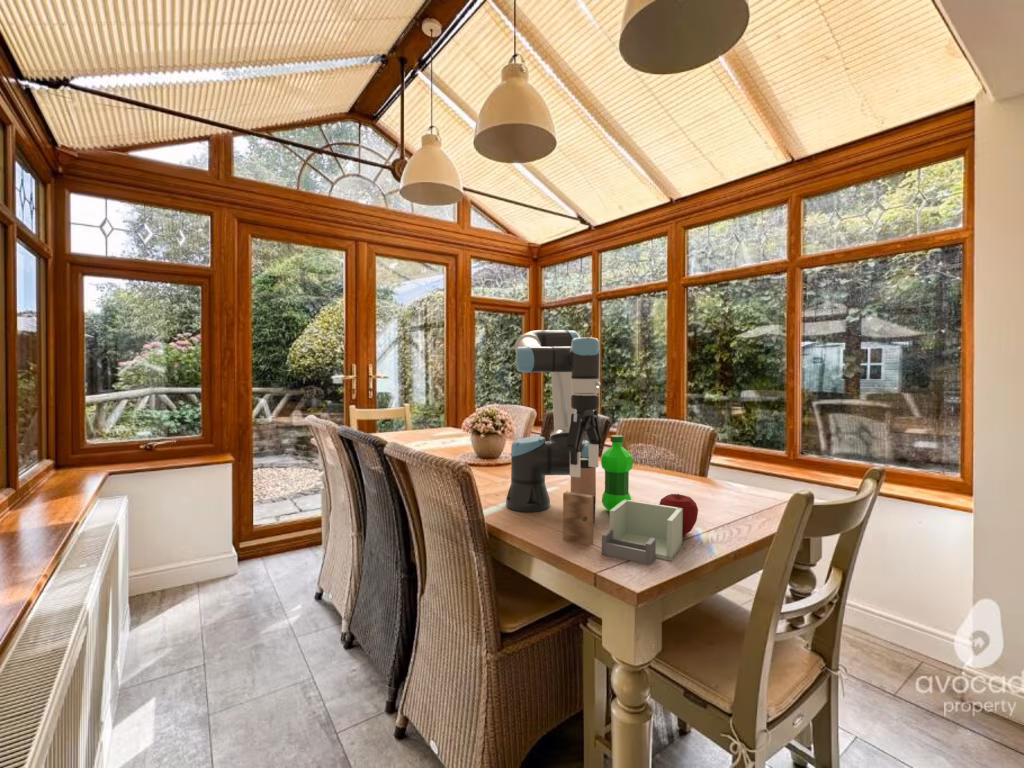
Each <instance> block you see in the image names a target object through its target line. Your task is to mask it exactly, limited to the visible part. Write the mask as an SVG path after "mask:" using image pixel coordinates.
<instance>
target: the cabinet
mask: <svg viewBox="0 0 1024 768" xmlns="http://www.w3.org/2000/svg"><path fill="white" fill-rule="evenodd" d="M682 532H683V508H678V507H671V506H665V505H659V504H657V503H652V502H643V501H639V500H632V499H631V500H626V499H624V500H623V501H622V502H620V503H619V504H618V505H616V506H615V507H614V508H612V509H611V510H610V512H609V529H607V530H606V531H605V532H604V533H602V534H601V555H603V556H608V557H613V558H616V559H617V558H618V559H621V560H622V559H623V560H626V561H630V562H631V561H632V562H636V563H640V564H645V565H649V566H651V565H652V564H653V562H654V561H655V559H660V560H665V561H671V562H672V561H673V560H674V558H675V556H676V555H677V553H678V552H679V551H680V550H681V548H682V546H683V536H682Z"/></svg>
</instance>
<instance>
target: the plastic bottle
mask: <svg viewBox="0 0 1024 768" xmlns="http://www.w3.org/2000/svg"><path fill="white" fill-rule="evenodd" d="M610 442H611V446H610V447H608V449H605V451H604V452H603V453H602V455H601V458H600V464H601V468H602V469H603V470H604V491H603V493H602V495H601V503H602V506H603V507H604V508H605V509H606V510H608V512H609V513H610V510H611V509H612V508H614V507H615V506H616V505H618V504H619V503H620V502H622V501H623V500H624V499H626V500H632V496H631V494H630V492H629V481H630V479H629V477H630V476H629V475H630V474H629V472H631V470H632V468H633V464H634V463H633V461H634V460H633V456H632V455H631V453H630V452H629V451H628V450H627V449H625V447H623V446H622V445H623V442H624V436H623V435H622V434H621V435H620V434H612V435H610Z"/></svg>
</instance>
